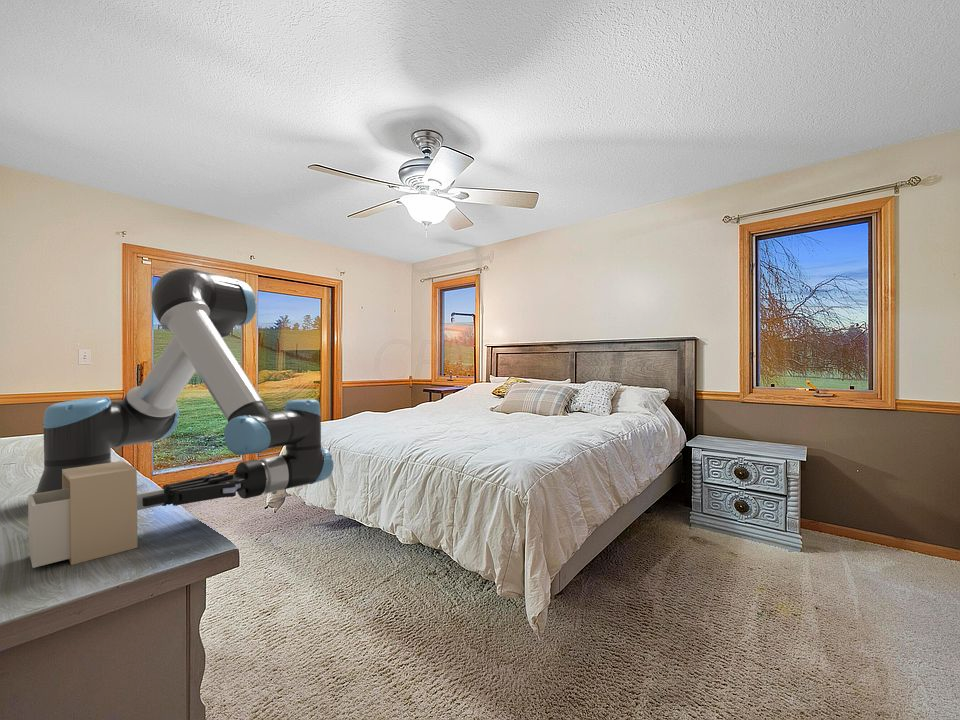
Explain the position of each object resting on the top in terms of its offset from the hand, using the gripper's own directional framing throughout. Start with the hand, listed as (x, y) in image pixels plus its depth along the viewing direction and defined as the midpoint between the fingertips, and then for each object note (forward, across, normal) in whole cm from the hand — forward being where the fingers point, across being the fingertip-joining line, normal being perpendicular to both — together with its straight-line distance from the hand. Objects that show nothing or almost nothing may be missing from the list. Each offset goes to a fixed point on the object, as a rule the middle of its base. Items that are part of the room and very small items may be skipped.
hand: (117, 505), depth 74 cm
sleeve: (+2, 0, -6) cm, 7 cm away
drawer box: (+5, 0, -6) cm, 8 cm away
